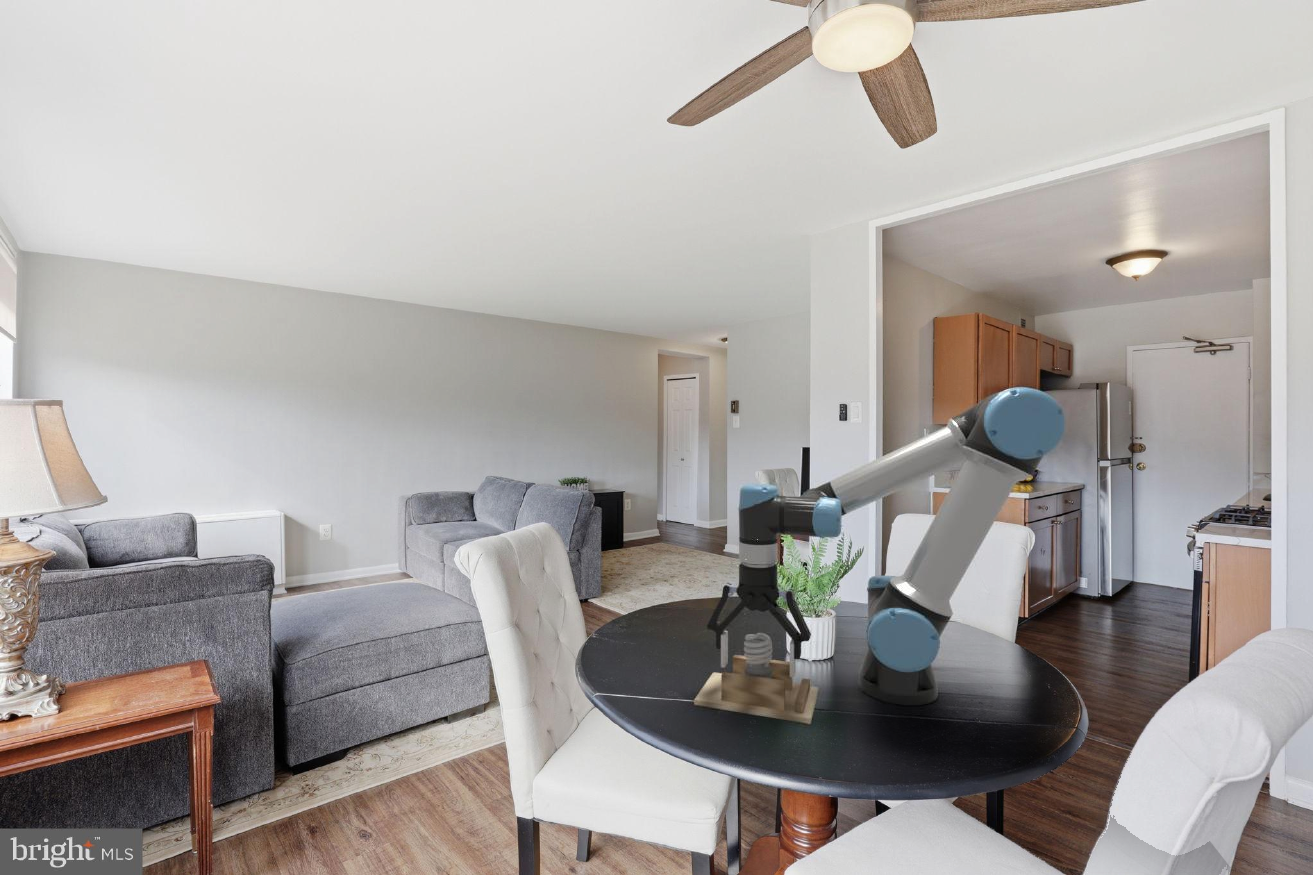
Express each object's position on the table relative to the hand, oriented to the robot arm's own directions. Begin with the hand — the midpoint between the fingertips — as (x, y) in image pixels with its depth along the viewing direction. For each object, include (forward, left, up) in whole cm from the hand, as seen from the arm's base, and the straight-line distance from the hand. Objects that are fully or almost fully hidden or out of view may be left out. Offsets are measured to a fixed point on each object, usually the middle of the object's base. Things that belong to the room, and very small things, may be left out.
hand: (757, 669), depth 122 cm
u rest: (0, 0, -6) cm, 6 cm away
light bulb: (0, 0, -5) cm, 5 cm away
